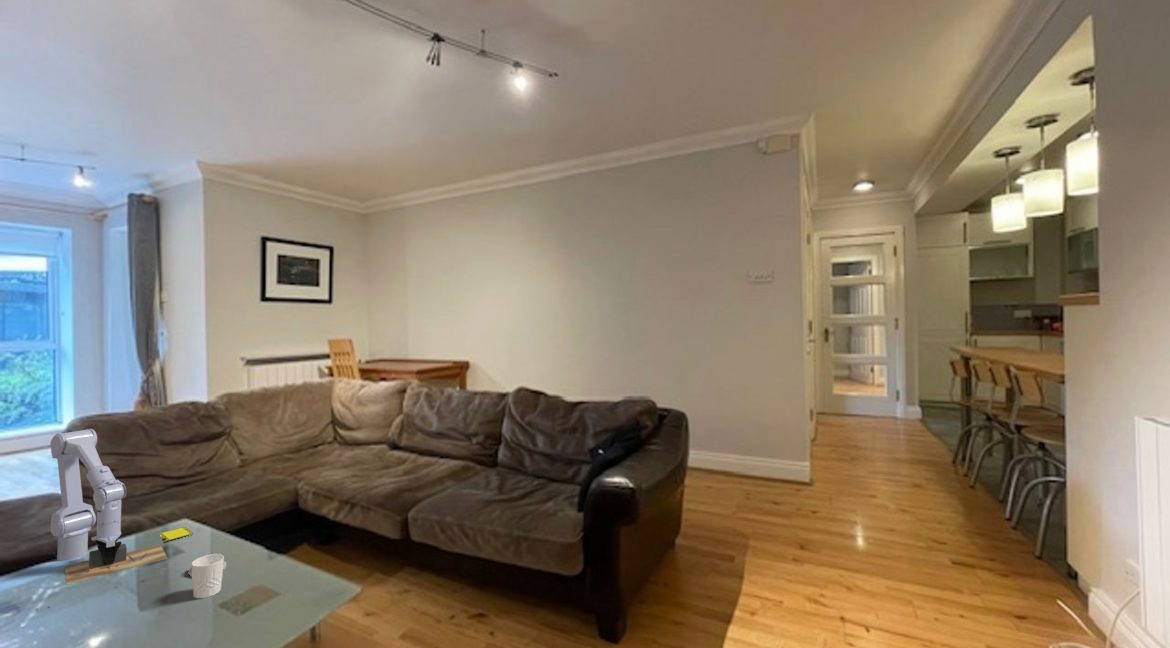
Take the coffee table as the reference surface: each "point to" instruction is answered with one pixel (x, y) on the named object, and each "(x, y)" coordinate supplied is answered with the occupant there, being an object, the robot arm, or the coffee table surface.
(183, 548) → the coffee table surface
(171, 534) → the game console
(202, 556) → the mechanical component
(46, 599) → the coffee table surface
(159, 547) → the oak board
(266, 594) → the coffee table surface
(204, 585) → the white cup
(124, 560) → the block
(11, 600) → the coffee table surface
